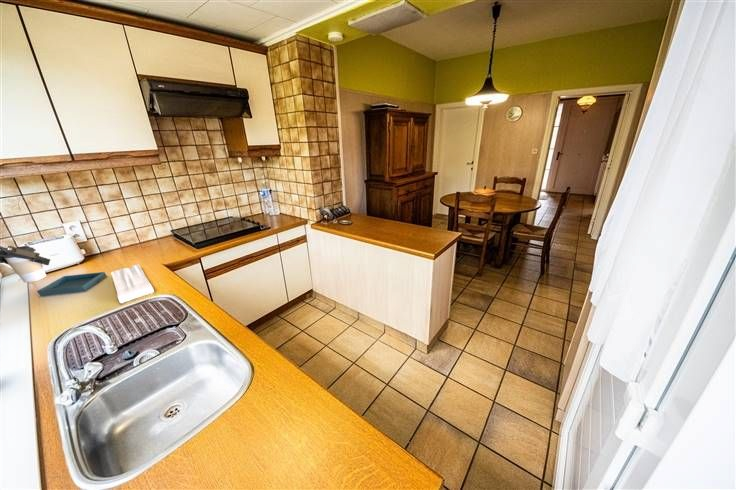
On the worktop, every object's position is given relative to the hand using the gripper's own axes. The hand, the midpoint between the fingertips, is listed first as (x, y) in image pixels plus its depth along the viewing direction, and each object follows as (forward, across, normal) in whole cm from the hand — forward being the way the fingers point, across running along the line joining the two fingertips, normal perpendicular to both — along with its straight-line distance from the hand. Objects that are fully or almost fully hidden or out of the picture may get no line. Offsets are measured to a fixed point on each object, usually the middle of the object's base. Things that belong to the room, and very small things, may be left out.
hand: (36, 263), depth 120 cm
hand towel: (+16, +30, -10) cm, 36 cm away
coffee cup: (+2, 0, -7) cm, 7 cm away
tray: (+20, 0, -6) cm, 21 cm away
